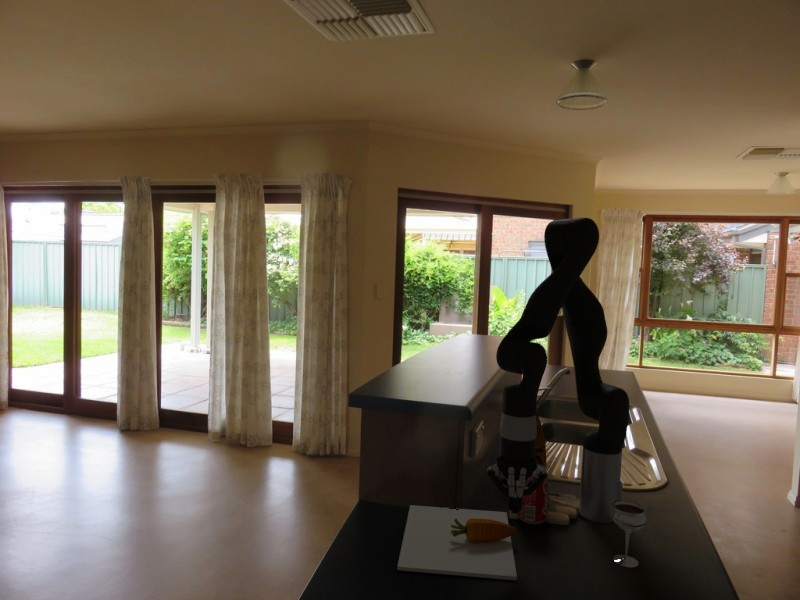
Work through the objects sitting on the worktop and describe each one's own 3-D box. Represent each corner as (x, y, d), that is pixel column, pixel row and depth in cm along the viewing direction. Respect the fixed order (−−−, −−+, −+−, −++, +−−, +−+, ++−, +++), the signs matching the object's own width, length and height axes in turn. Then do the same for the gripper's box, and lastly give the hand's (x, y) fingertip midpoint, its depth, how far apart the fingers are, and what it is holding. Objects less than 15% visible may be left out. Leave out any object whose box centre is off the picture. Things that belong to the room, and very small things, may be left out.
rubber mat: (506, 515, 142) (506, 512, 141) (516, 580, 114) (516, 576, 114) (410, 508, 144) (410, 505, 144) (397, 570, 116) (397, 566, 116)
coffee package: (521, 495, 153) (525, 415, 151) (495, 478, 164) (498, 403, 162) (551, 490, 157) (555, 412, 155) (523, 473, 168) (527, 400, 166)
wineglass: (604, 551, 126) (607, 499, 124) (635, 552, 125) (639, 500, 124) (615, 569, 119) (618, 513, 118) (648, 570, 119) (652, 515, 118)
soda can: (547, 527, 136) (550, 475, 135) (516, 524, 137) (518, 471, 136) (545, 514, 143) (548, 464, 141) (516, 511, 144) (518, 461, 143)
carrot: (512, 529, 131) (447, 528, 130) (515, 514, 129) (449, 513, 128) (516, 547, 127) (450, 547, 126) (520, 532, 125) (452, 531, 124)
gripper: (547, 429, 124) (543, 506, 126) (485, 426, 126) (482, 502, 127) (552, 441, 117) (548, 522, 118) (487, 437, 118) (484, 517, 120)
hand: (514, 511), depth 123 cm, fingers closed
